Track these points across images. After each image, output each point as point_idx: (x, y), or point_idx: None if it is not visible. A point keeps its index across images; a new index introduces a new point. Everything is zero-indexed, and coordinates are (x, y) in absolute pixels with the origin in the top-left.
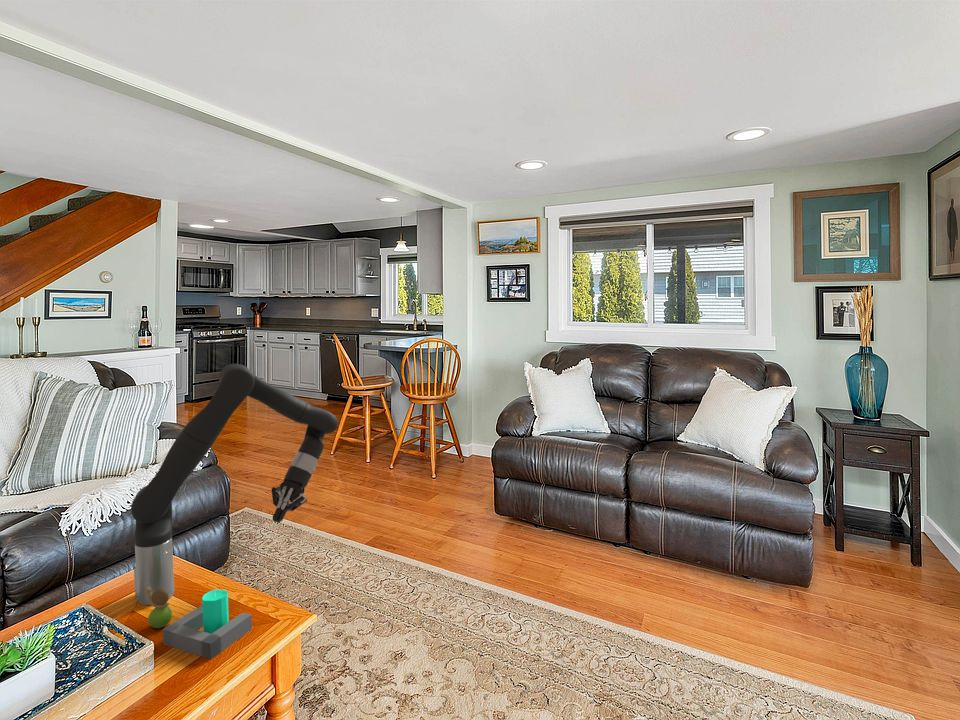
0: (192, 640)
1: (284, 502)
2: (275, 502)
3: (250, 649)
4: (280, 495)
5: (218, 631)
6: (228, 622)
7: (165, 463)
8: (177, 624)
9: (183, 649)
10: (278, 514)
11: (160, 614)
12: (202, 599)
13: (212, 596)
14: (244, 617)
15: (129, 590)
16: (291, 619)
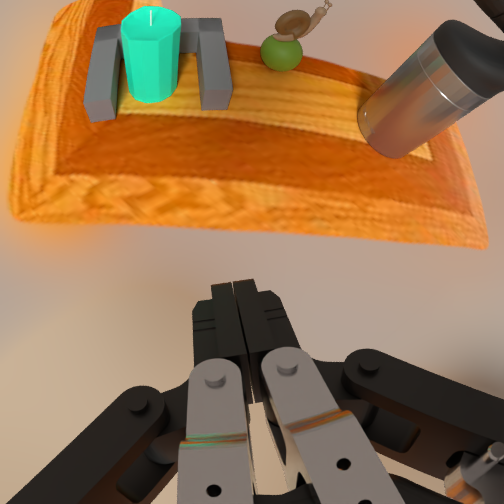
0: None
1: (237, 432)
2: (362, 369)
3: (53, 89)
4: (377, 461)
5: (110, 46)
6: (112, 66)
7: None
8: (210, 30)
9: None
10: (224, 318)
11: (270, 36)
12: (168, 10)
13: (158, 23)
14: (91, 90)
15: None
16: (33, 190)
